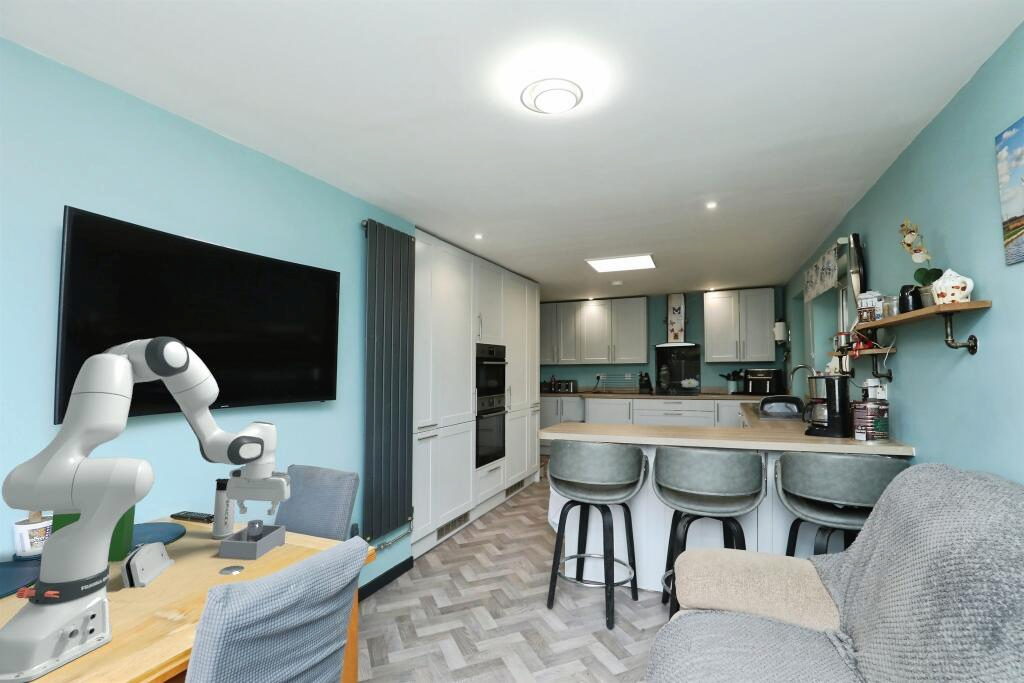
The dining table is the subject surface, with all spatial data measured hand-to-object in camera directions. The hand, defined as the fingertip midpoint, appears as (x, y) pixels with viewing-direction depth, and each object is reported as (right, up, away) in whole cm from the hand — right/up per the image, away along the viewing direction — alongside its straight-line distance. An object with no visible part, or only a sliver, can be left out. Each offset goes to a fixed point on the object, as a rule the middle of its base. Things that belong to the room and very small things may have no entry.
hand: (257, 514), depth 156 cm
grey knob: (-1, -12, 0) cm, 12 cm away
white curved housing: (-19, -11, -22) cm, 31 cm away
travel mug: (-19, -13, +12) cm, 26 cm away
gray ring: (+2, -11, -17) cm, 20 cm away
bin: (-1, -12, 0) cm, 12 cm away
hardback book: (-45, -10, -10) cm, 47 cm away
